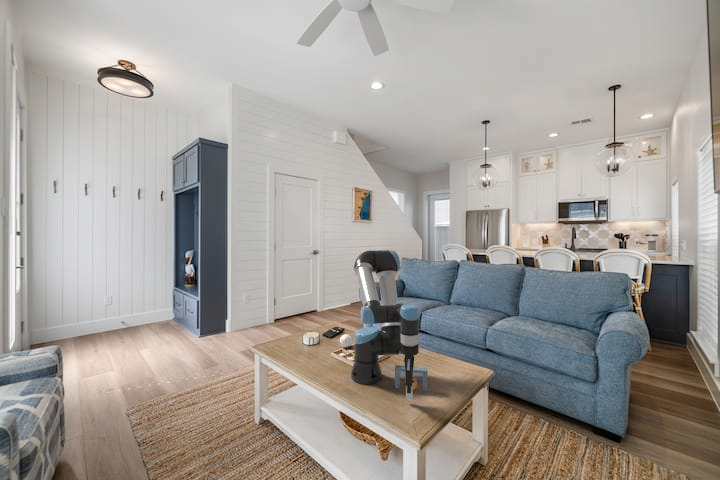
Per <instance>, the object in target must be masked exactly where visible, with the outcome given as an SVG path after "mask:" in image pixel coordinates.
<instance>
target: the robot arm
mask: <svg viewBox="0 0 720 480" xmlns="http://www.w3.org/2000/svg"><path fill="white" fill-rule="evenodd" d="M353 266H354V267H353V270H354V274H355V275H356V276H357V280H358V284H359V289H360V290H359V291H360V294H361V298H362V303H363V306H361V307H360V321H361V322H362V324H366V325H374V324H381V326H380V330H379V329H378V327H374V326H373V327H372V326H365V327H361V328H360V329H359V328H358V330H356V332H355V334H354V341H353V343H354V362H353V364H352V367H351V371H350V378H351V380H352V381H354V382H355V383H357V384H361V385H373V384H376V383H378V382H380V381H381V380H382V379H383V371H382V369H381V368H382V367H381V365H380V363H379V356H395V355H396V356H398V355H404V359H403V360H404V361H403V362H404V366H405V374H406V379H405V381H406V383H405V382H403V383H404V386H405V385H406V386H405V400H406V401H410V402H412V401H413V395H414V394H413V393H414V390H413V383H414V381H413V380H412V379H413V367H415V356H417V355H418V354H419V349H420V346H419V342H420V341H419V340H420V338H421V336H420V335H419V333H420V331H419V327H420V325H419V324H420V311H419V307H418V306H417V305H415V304H406V303H402V302H399V299H398V292H397V283H396V276H397V275H398V272H399V271H400V270H401V269H400V268H401V261H400V257H399V254H398V253H397V252H396V251H395V250H391V249H390V250H389V249H386V250H385V249H384V250H383V249H382V250H372V249H371V250H365V251H363V252H362V253H360V254H359V255H358V256H357V258H356V259H355V262H354V265H353ZM373 273H375V276H376V277H377V278H378V280H379V291H380V292H379V293H380V298H379V294H378V291H377V287H376V282H375V279H374V276H373ZM380 300H381V301H380Z"/></svg>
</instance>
